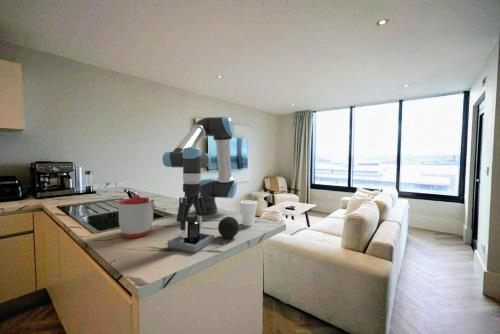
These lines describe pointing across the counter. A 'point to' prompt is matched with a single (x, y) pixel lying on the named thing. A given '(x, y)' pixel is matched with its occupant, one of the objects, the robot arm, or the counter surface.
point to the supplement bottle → (192, 230)
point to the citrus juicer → (135, 216)
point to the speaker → (228, 227)
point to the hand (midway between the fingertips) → (191, 233)
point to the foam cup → (248, 212)
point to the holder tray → (180, 245)
